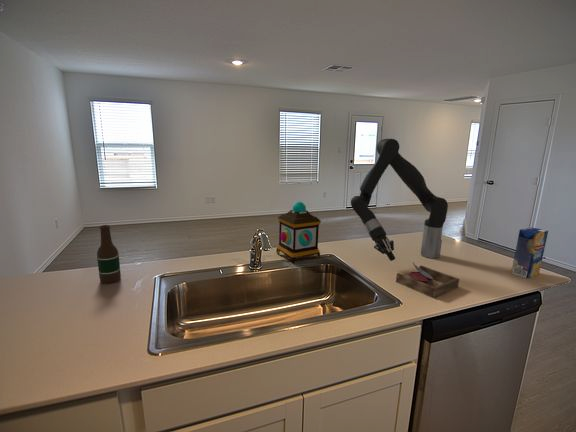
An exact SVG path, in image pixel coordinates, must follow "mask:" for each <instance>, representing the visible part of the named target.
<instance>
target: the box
mask: <svg viewBox="0 0 576 432" xmlns="http://www.w3.org/2000/svg"><path fill="white" fill-rule="evenodd" d="M418 267H419V268H420V269H422V270H423V271H425V272H426V273H428V274H429V275H431V276H432V277H433V281H437V282H438V283H441V284H438V285H436V286H433V285H432V286H430V285H427V284H425V283H423V282H420V281H418V280H415V279H413V278H410V277H409V275H408V276H407V275H405V274H402V273H400V272H397V273H396V276H395V277H396V278H395V283H397V284H400V285H402V286H403V287H407V288H410V289H412V290H413V291H416V292H419V293H421V294H423V295H425V296H428V297H429V298H432V299H436V298H438V297H440V296H442V295H444V294H447V293H449V292H451V291H453V290H455V289H458V288H459V282H460V278H458V277H455V276H452V275H449V274H446V273H444V272H441V271H438V270H436V269H432V268H430V267H427V266H424V265H419V266H418Z"/></svg>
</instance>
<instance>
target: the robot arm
mask: <svg viewBox="0 0 576 432" xmlns="http://www.w3.org/2000/svg"><path fill="white" fill-rule="evenodd" d="M399 151H400V144H399V141H398V140H396V139H394V138H382V139H380V140H379V141H378V142H377V144H376V152H377V154H378V155H379V156H378V159H377V160H376V163H375V164H374V165H373V167H371V169H370V170H369V171H368V173H367V174H366V175H365V177H364V179H363V181H362V183H361V185H360V187H359V190H360V193H359V195H355V196H353V197H352V198H351V199H350V206H351V208H352V209H353V211H354V212H355V213H356V214H357V216H358V217H359V219H360V220H361V222H362V224H363V225H364V227H365V230H366V232H367V234H368V235H369V236H370V238H371V241H373V242H374V243H375V244H374V245H373V248H374V249H375V250H377V251H378V253H381V254H382V255H386V256H387V258H388V259H389V261H390V262H392V261H394V260H396V256H395V255H394V253H393V251H394V250H395V246H394V245H395V244H394V240H390V238H388V236H387V232H386V230H385V229H384V227H383V225H382V224H381V221H379V219H378V218H377V217H376V215H375V213H374V212H373V211H372V210H371V209H370V208H369V206H370V202H371V199H372V196H373V193H374V190H375V189H376V187H377V185H378V183H379V182H380V180H381V178H382V176H383V175H384V173H385V171H386V169H387V168H388V167H389V166H391V168H392V169H393V171H394V172H395V173H396V174H397V176H398V177H399V178H400V179H401V181H402V182H403V183H404V184H405V186H406V187H407V188H408V189H409V190H410V191H411V192H412V194H414V195H415V197H417V199H418V201H420V203H421V205H422V206H423V208H424V209H425V210H426V211H427V212H429V216H428V218H426V219H425V220H424V223H423V224H424V225H423V233H422V241H421V248H420V249H421V250H420V255H421V257H425V258H429V259H438V258H439V257H441V249H442V243H443V240H442V235H443V228H444V224H445V223H446V219H447V214H448V209H449V206H448V204H449V203H448V202H447V200H446V199H445V198H443V197H439V196H436V195H435V194H434V193H433V192H432V191H431V190H430V189H429V188H428V186H427V184H426V183H427V182H426V179H425V178H424V176H423V174H422V173H421V172H420V170H419V169H417V167H416V166H415V165H414V164H413V163H411V162H410V161H408V160H407V159H406V158H405V157H403V156H402V155H401V153H400V152H399Z"/></svg>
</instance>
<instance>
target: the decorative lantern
mask: <svg viewBox="0 0 576 432" xmlns="http://www.w3.org/2000/svg"><path fill="white" fill-rule="evenodd" d="M289 210H290V211H288V212H286V213H282V214H281V215H279V216H278V217H277V220H278V222H279V228H278V229H279V230H278V231H279V232H278V233H279V234H278V236H279V237H278V238H279V239H278V245H277V247H276V251H275V252H276V254H277V255H280V253H282V254H284V255H286V256H287V257H289V258H290V260H291V264H294V263H295V261H296V259H301V258H306V257H311V256H315V255H316V259H320V258H321V251H320V249H319V228H320V227H319V226H320V224H321V222H322V220H320V218H318V217H317V216H314V215H313V214H311V213H310V212H309V211H308V210H307V207H306V204H304V202H302V201H297V202H295V203H294V204H293V206H292V209H289Z"/></svg>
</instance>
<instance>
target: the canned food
mask: <svg viewBox="0 0 576 432" xmlns="http://www.w3.org/2000/svg"><path fill="white" fill-rule="evenodd" d="M412 264H413V266H414V268H415V270H417V271H413V272H409V274H408V277H410V278H413V279H415V280H418V281H420V282H423V283H425V284H427V285H430V286H432V287H433V282H434V279H433V277H432V276H431V275H429V274H428V273H426V272H425V271H423V270H422V269H420V268H419V267H420V266H417V265H416V264H415V263H414V262H412Z"/></svg>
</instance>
